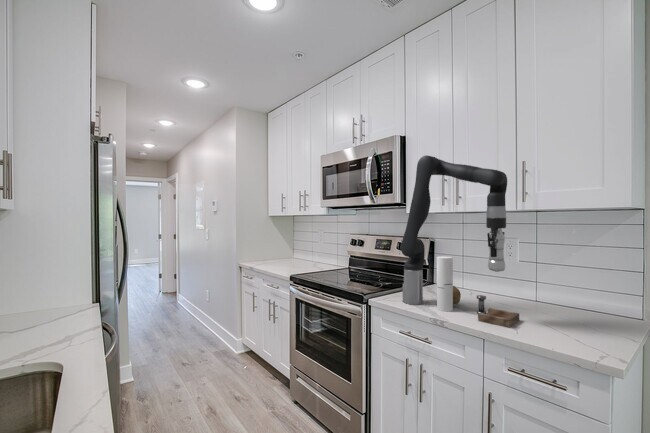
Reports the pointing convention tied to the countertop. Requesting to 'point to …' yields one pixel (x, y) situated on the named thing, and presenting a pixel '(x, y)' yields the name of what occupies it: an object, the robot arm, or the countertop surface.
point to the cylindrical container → (445, 283)
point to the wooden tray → (499, 317)
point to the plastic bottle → (498, 254)
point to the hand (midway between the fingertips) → (496, 256)
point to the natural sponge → (456, 295)
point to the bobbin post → (481, 304)
